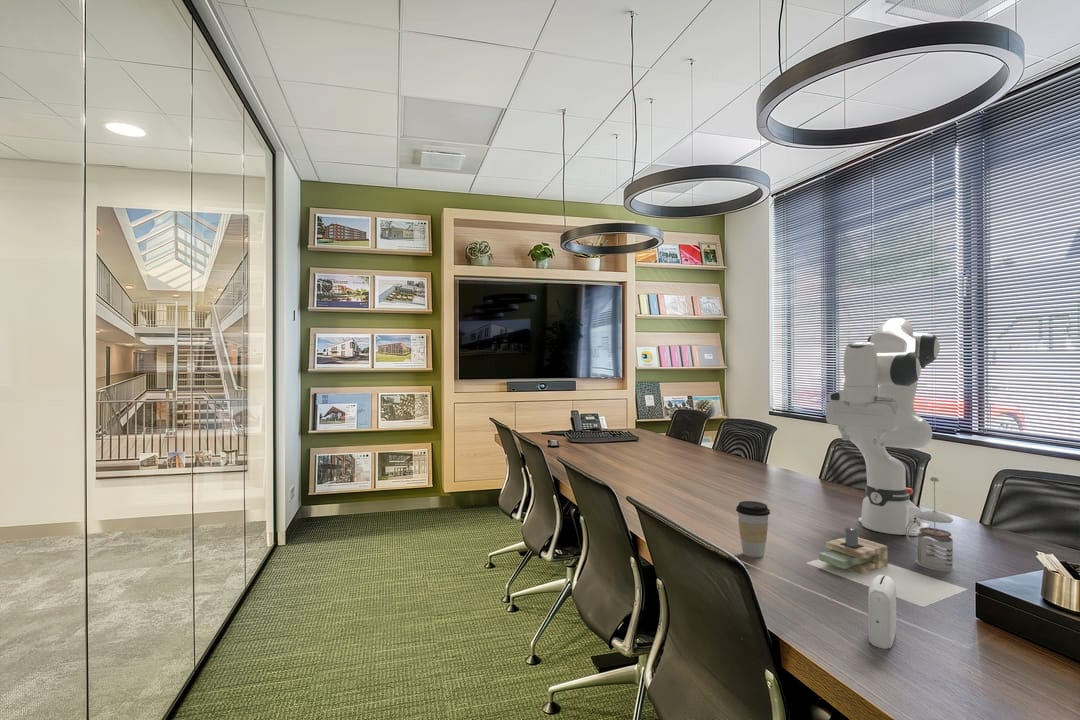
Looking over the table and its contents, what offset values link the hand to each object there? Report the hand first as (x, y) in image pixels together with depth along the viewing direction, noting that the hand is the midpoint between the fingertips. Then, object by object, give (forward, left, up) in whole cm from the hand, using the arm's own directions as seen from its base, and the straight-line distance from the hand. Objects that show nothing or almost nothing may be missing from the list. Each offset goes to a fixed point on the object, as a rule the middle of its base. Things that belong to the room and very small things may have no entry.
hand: (861, 442), depth 156 cm
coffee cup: (+30, -14, -33) cm, 47 cm away
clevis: (+13, +5, -33) cm, 35 cm away
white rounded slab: (+44, +31, -33) cm, 63 cm away
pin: (+13, +5, -33) cm, 35 cm away
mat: (+13, +13, -33) cm, 38 cm away
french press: (-7, +15, -33) cm, 37 cm away
